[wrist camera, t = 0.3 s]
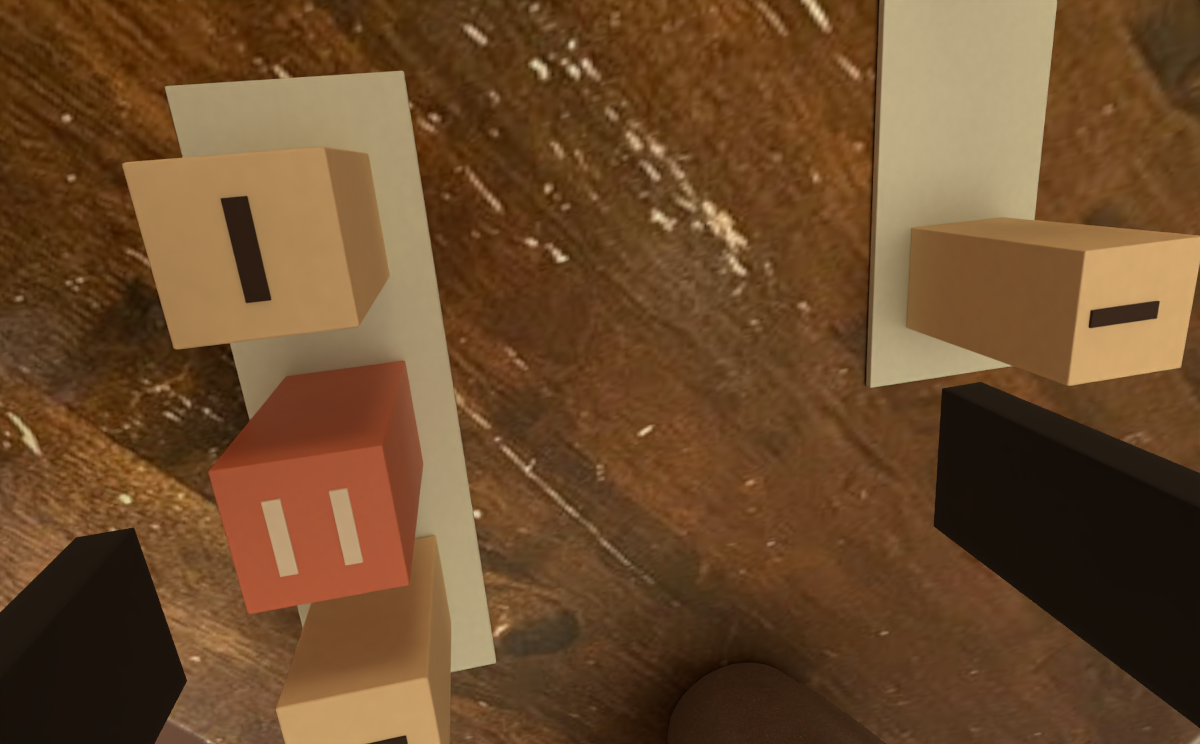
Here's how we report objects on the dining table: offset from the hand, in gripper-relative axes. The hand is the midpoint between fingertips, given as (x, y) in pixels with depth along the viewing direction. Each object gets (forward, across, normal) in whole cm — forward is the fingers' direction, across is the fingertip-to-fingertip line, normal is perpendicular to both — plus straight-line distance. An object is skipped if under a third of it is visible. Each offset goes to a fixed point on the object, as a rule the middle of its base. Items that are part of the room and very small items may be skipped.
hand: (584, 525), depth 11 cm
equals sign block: (+18, -7, -4) cm, 19 cm away
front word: (+18, -7, -4) cm, 20 cm away
